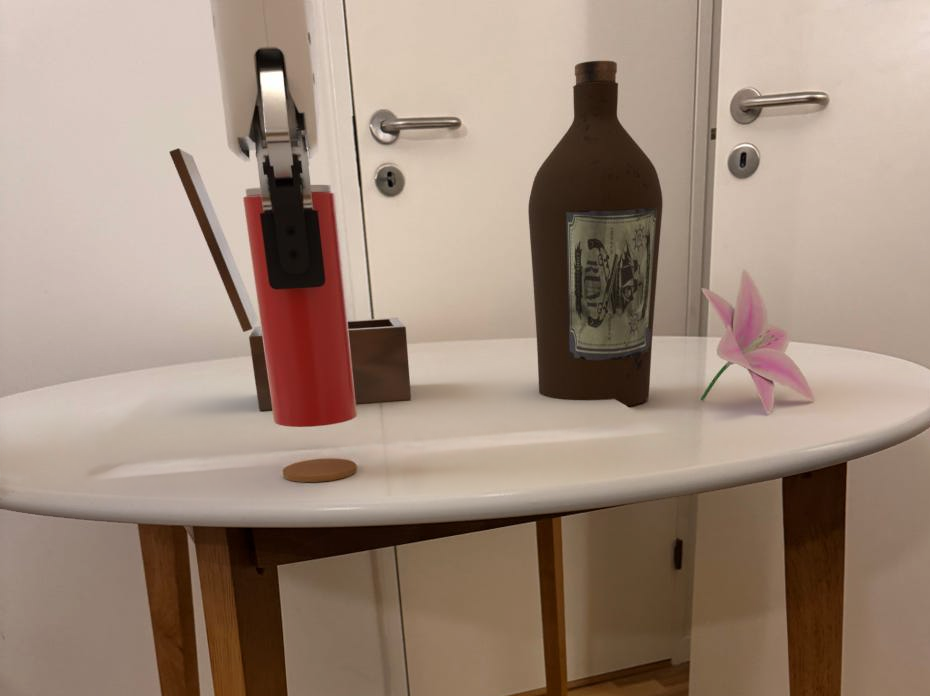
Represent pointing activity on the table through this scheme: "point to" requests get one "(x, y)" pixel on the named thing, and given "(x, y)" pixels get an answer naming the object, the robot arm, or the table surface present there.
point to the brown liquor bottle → (595, 252)
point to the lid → (214, 238)
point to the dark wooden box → (357, 362)
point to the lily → (755, 344)
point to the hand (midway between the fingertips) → (298, 281)
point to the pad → (319, 470)
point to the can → (305, 327)
